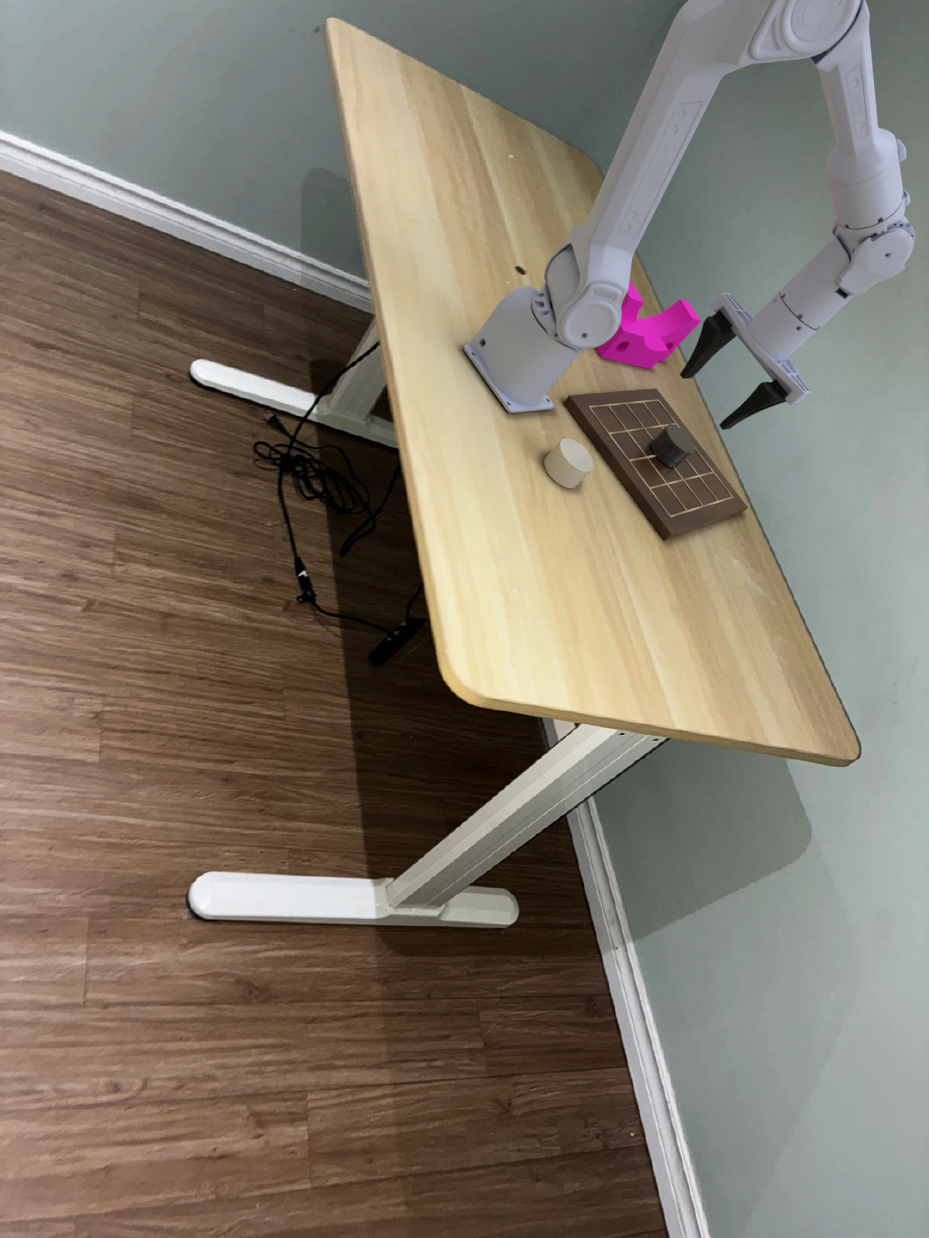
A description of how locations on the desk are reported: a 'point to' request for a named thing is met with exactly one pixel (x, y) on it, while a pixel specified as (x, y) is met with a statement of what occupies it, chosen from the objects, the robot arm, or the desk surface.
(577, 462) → the white stone
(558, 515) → the desk surface
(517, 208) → the desk surface
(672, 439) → the black stone
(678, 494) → the board
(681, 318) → the toy block
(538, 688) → the desk surface
